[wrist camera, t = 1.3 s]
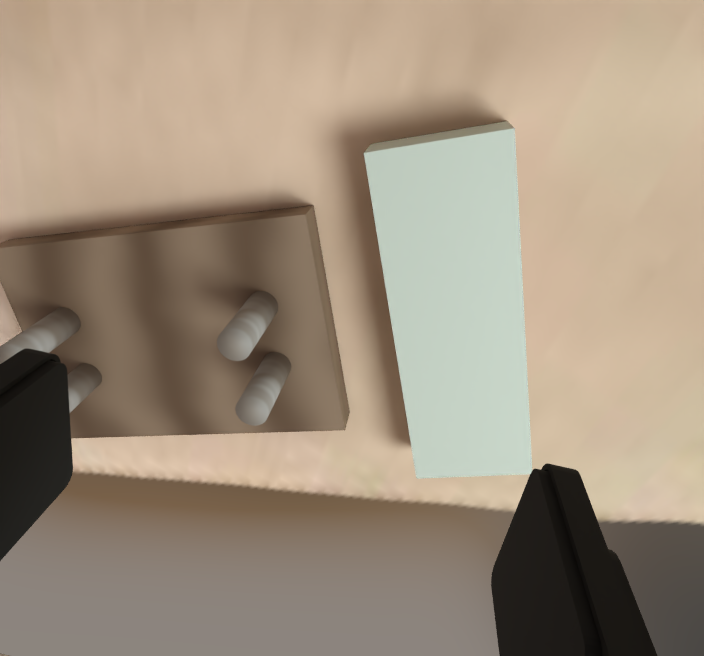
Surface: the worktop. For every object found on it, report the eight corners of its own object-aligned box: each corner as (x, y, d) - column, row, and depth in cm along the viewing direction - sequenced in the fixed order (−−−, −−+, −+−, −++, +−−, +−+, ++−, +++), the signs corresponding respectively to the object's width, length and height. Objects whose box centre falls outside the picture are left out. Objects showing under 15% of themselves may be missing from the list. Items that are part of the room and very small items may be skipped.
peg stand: (313, 205, 31) (280, 243, 25) (349, 412, 37) (330, 484, 31) (9, 239, 35) (-84, 279, 29) (85, 421, 41) (21, 487, 35)
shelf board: (372, 142, 30) (363, 152, 27) (506, 120, 28) (514, 128, 25) (418, 443, 38) (416, 478, 35) (524, 438, 36) (532, 474, 33)
